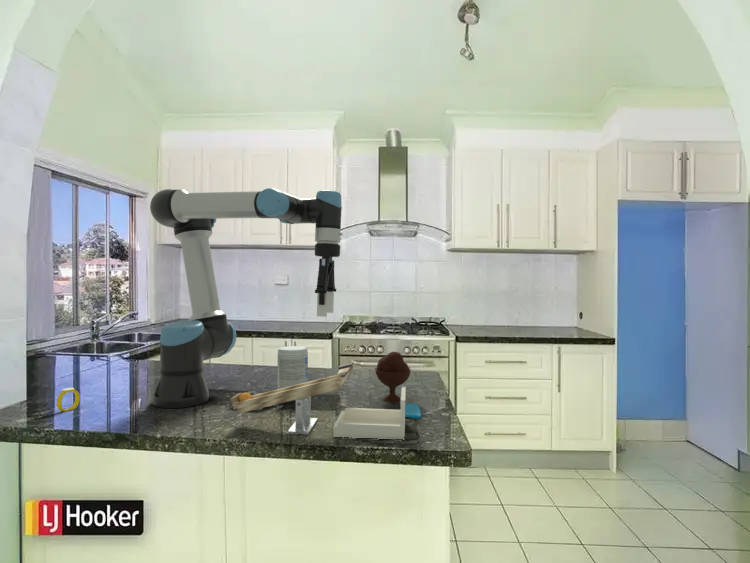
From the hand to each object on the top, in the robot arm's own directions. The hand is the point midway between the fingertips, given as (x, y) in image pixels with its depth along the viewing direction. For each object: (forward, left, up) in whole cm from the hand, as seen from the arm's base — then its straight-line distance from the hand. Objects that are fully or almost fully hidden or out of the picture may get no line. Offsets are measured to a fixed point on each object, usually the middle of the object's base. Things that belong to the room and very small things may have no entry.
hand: (325, 314), depth 136 cm
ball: (-16, -23, -20) cm, 34 cm away
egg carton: (-20, -6, -27) cm, 34 cm away
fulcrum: (-1, -23, -26) cm, 35 cm away
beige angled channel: (-4, -13, -19) cm, 23 cm away
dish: (+16, -23, -26) cm, 38 cm away
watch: (-68, -17, -27) cm, 75 cm away
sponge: (+26, -7, -27) cm, 38 cm away
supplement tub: (-12, +8, -27) cm, 30 cm away
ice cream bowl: (+20, +5, -26) cm, 34 cm away
